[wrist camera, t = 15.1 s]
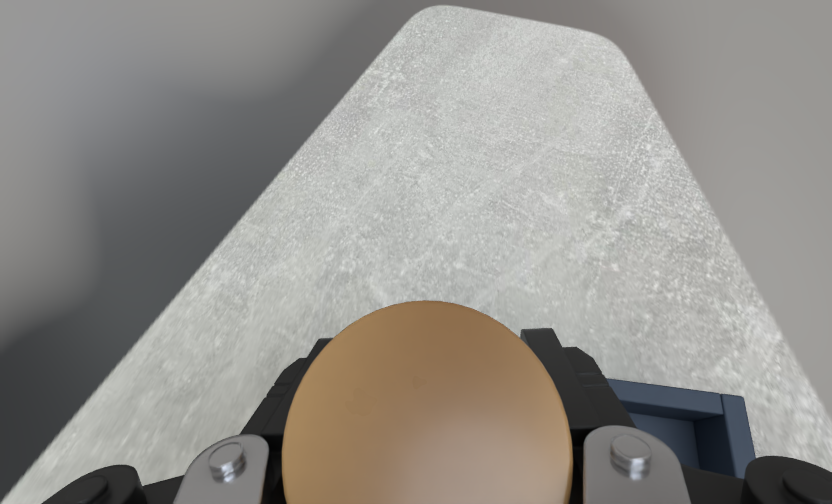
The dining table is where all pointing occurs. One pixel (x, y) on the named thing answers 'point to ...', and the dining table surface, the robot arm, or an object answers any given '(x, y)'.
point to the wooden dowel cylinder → (427, 415)
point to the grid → (692, 424)
